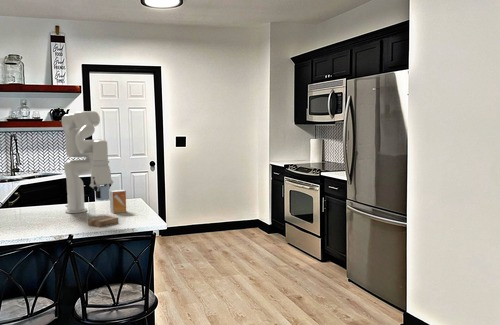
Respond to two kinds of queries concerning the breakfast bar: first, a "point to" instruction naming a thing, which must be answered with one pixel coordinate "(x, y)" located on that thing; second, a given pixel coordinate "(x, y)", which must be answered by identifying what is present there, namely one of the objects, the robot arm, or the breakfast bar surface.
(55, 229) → the breakfast bar surface
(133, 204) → the breakfast bar surface
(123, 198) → the small box
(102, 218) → the walnut slab
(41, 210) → the breakfast bar surface
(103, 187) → the blue block
